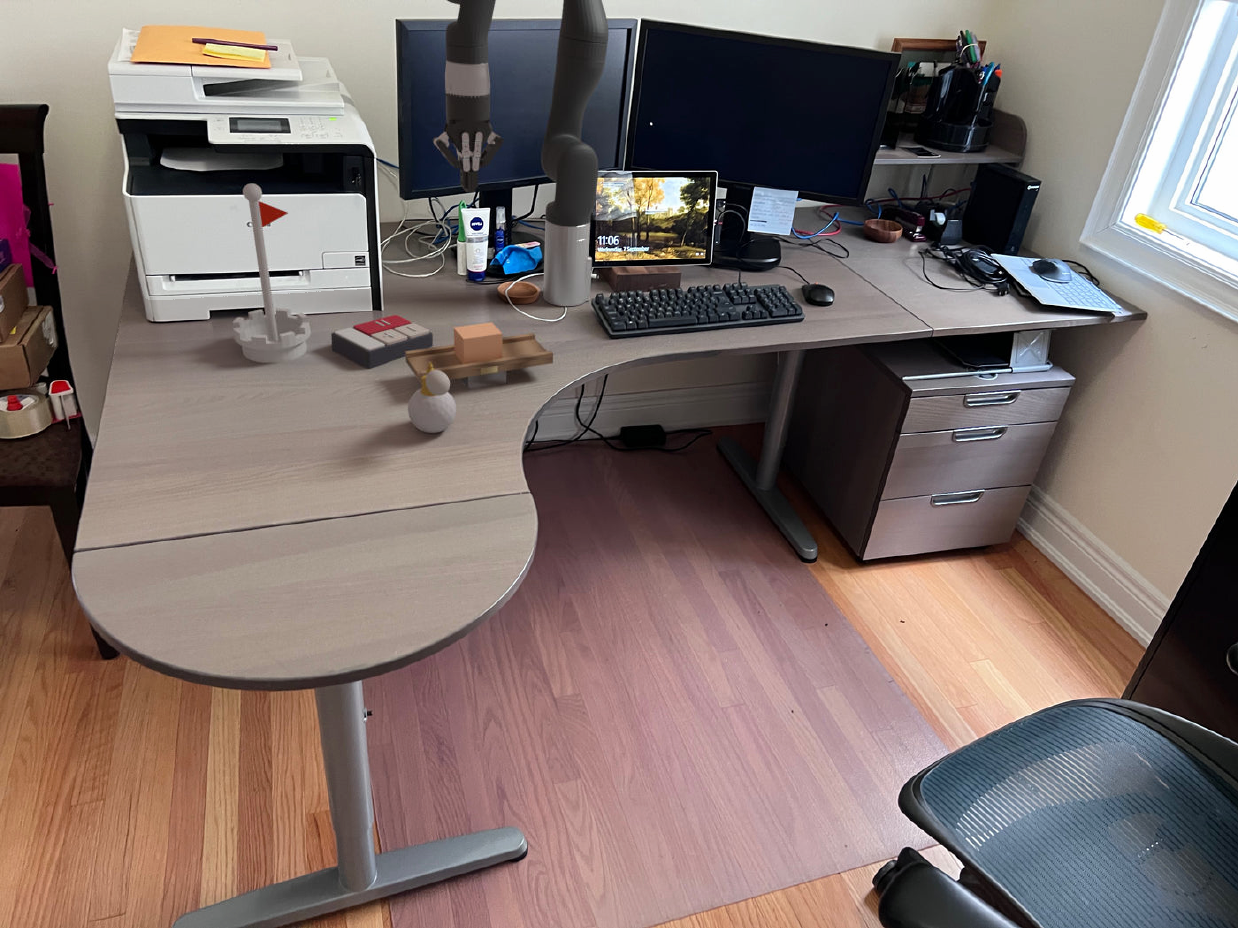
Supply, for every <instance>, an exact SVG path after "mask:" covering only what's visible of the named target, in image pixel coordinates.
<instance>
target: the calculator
mask: <svg viewBox="0 0 1238 928" xmlns="http://www.w3.org/2000/svg"><path fill="white" fill-rule="evenodd" d="M330 334H331V338H330V339H331V351H333V352H335V354H337V355H340V356H342V357H344V358H345V359H347V360H350V361H351V362H353V363H354V364H356V365H359V366H361V367H363V368H364V369H366V370H373V369H375V368H378V367H380V366H383V365H386V364H388V363H389V362H391V361H394V360H397V359H401V358H404V357H406V355H405V351H412V350H419V349H426V348H433V346H434V341H433V339H434V334H433V332H431V331H430V329H427V328H425V327H423V326H421V325H419V324H417V323H412V321H410V320H408V319H407V318H403V317H402V316H399V315H398V314H393V315H390V316H385V317H382V318H378V319H374V320H370V321H365V322H363V323H359V324H358V323H357V324H355V325H353V327H347V328H342V329H339V330H336V331H334V332H332V333H330Z"/></svg>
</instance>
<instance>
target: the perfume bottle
mask: <svg viewBox="0 0 1238 928" xmlns="http://www.w3.org/2000/svg"><path fill="white" fill-rule="evenodd" d="M432 367H433V365H432V364H431V362H429V364H428V368H427V370H426V372H427V375H425V376H423V377H422V384H421V388H419V389H418V390H416V391H415V392H414V393H413V394H412V395H411V398H410V399H409V401H408V405H407V406H408V407H407V412H408V417H409V420H410V421H411V423H412V424H413V425H414V427H416V428H417V429H418V430H419V431H422V432H424V433H427V434H434V433H440V432H443V431H445V430H447V429H448V428H450V426H451V425H452V424H453V422H454V420H455V418H456V413H457V406H456V402H455V400H454V397H453V396H452V394H451V393H450V392H449V391H450V388H451V387H450V386H451V380H449V378H448V377H447V375H446V374H445V373H443V372H442V371H439V370H434V368H432Z"/></svg>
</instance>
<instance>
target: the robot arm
mask: <svg viewBox="0 0 1238 928" xmlns="http://www.w3.org/2000/svg"><path fill="white" fill-rule="evenodd" d="M446 1H448V2H449V3H451V4H454V5H459V10H458V15H457V18H456V19H457V20H456V21H453V22H450V23H449V24H448V25H447V26H446V28H445V29H446V30H445V59H446V60H445V70H444V71H445V72H444V81H445V82H444V83H445V116H446V122H445V125H444V127H443V133H441V134H440V135H439V136H438V137H437V136H435V137H434V138H432V142H433V145H434V146H436V148H437V150H439V152H440V153H441V154H442V156H443V157H444V158H445V159H446V161H448V163H449V164H450V165H451V166H453V168H454V169H456V170H457V169H459V170H460V185H461V187H462V189H464V191H465V192H466V193H472V192H473V193H474V192H476V189H478V187H479V171H480V169H482V168H484V167H485V168H486V167H488V166H489V165H490V163H491V162H492V160H493V158H494V157H495V155H496V154H497V153H498V151H499V149H500V148H502V147H501V146H503V144H504V142H505V140H504V138H502V137H501V136H499V135H498V134H496V133H495V132H494V131H493V127H492V125H491V123H490V120H491V119H490V117H491V109H490V107H491V106H490V105H491V101H490V100H491V98H490V97H491V95H490V94H491V82H490V81H491V80H490V70H489V40H488V39H489V38H488V37H489V33H490V28H491V25H492V21H493V16H494V11H495V7H496V6H495V5H496V1H497V0H446ZM562 1H563V4H562V12H561V22H560V28H559V35H558V41H557V42H558V43H557V50H556V63H555V71H554V79H553V87H552V95H551V103H550V110H549V114H548V120H547V125H546V129H545V134H544V139H543V141H542V142H543V143H542V147H541V155H540V162H541V168H542V170H543V172H544V174H545V175H546V176H547V177H548V178H549V179H550V180H552V181H553V182H555V193H554V194H555V195H554V200H553V201H549V203H548V204H547V205H546V207H545V222H544V223H545V224H544V225H545V229H544V255H543V256H544V259H543V262H544V263H543V265H544V266H543V287H542V288H543V291H542V292H543V297H542V298H543V300H544V301H545V302H547V303H549V304H551V305H555V306H561V307H572V306H573V307H574V306H579V305H581V304H584V303H585V302H589V301H590V297H591V285H592V284H591V283H592V265H593V264H592V263H593V259H592V257H591V256H590V255H589V250H590V246H589V245H590V233H591V232H590V230H591V216H592V212H593V211H594V209H595V206H596V205H595V204H596V199H597V188H598V180H599V179H598V178H599V161H598V155H597V154H596V152H595V150H594V148H593V147H591V146H590V145H589V144H587V143H585V142H584V141H583V142H582V140H581V139H582V126H583V119H584V114H585V110H586V107H587V104H588V103H589V100H590V99H591V97H592V95H593V93H594V91H595V89H596V88H597V86H598V84H599V82H600V80H601V77H602V74H603V73H604V69H605V64H606V56H607V50H608V44H609V43H608V42H609V33H610V32H609V24H608V20H607V16H606V12H605V8H604V3H603V1H602V0H562ZM449 140H450V141H449ZM486 142H487V144H486ZM450 143H451V144H452V145H453V146H454V147H455V149H456V154H457V157H456V156H455V155H454V153H452V151H451V150H450V149H449V146H450ZM485 144H486V145H485ZM484 146H485V147H484ZM483 147H484V149H483V150H482V148H483ZM457 158H458V159H457Z"/></svg>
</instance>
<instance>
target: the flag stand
mask: <svg viewBox="0 0 1238 928" xmlns="http://www.w3.org/2000/svg"><path fill="white" fill-rule="evenodd" d="M242 194H243V197H244V198H245V199H246V200H247V201H248V202H249V203H248V204H249V205H248V206H249V212H250V218H251V226H252V232H253V238H254V239H253V240H254V245H255V252H256V261H257V265H258V272H259V280H260V284H261V293H262V299H263V306H264V311H263V309H257V310H256V309H255V310H253V311H249V312H248V318H247V319H245V318H244V317H241V316H238V317H236V318H235V319H234V320H233V321H232V332H233V339H234V341H235V342H236V344H238V345H240V346H241V349H242V350H241V351H242V354H243V356H244V357H245V358H247V359H248V360H250V361H253V362H257V363H264V364H270V363H271V364H275V363H284V362H288V361H292V360H295V359H297V358H300V357H301V356H303V355H304V354H305V353H306V352H307V340H308V339H309V338H310V337H311V332H312V330H311V324H310V322H309V316H307V314H305V313H303V312H297V313H296V315H292V313H291V312H292V311H291V309H290V308H279V307H277V308H274V300H273V294H272V287H271V281H270V279H271V278H270V273H269V267H268V265H269V264H268V260H267V259H268V258H267V257H268V256H267V252H266V245H265V237H264V236H265V235H264V230H263V228H264V227H266V226H267V225H270V224H271V223H273V222H275V221H277V220H279V219H280V218H282V217H284V216H285V215H288V214H289V212H288V211H284V210H282V209H280V208H277V207H274V206H272V205H270V204H268V203H264V202H262V201H260V200H261V198H262V197H263V192H262V188H261V187H260V186H259V185H258V184H257V183H247V184H246V185H245V186H244V187H243V189H242ZM264 312H265V314H264Z"/></svg>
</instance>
